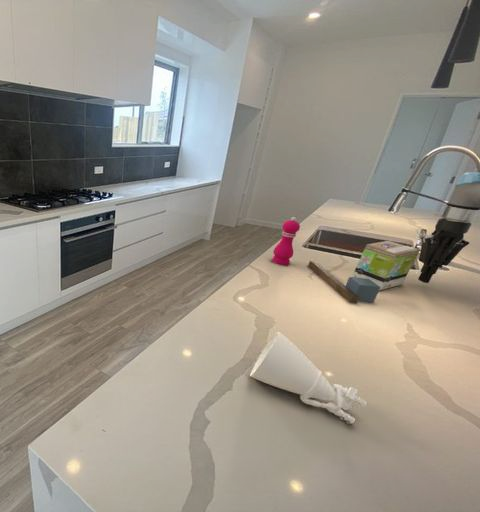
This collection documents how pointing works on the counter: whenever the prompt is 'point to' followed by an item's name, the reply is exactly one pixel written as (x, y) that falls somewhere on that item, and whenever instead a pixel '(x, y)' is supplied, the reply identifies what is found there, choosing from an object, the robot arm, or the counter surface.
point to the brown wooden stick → (334, 282)
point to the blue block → (363, 288)
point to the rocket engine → (302, 377)
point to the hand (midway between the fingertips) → (423, 281)
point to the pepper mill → (286, 242)
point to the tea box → (386, 263)
